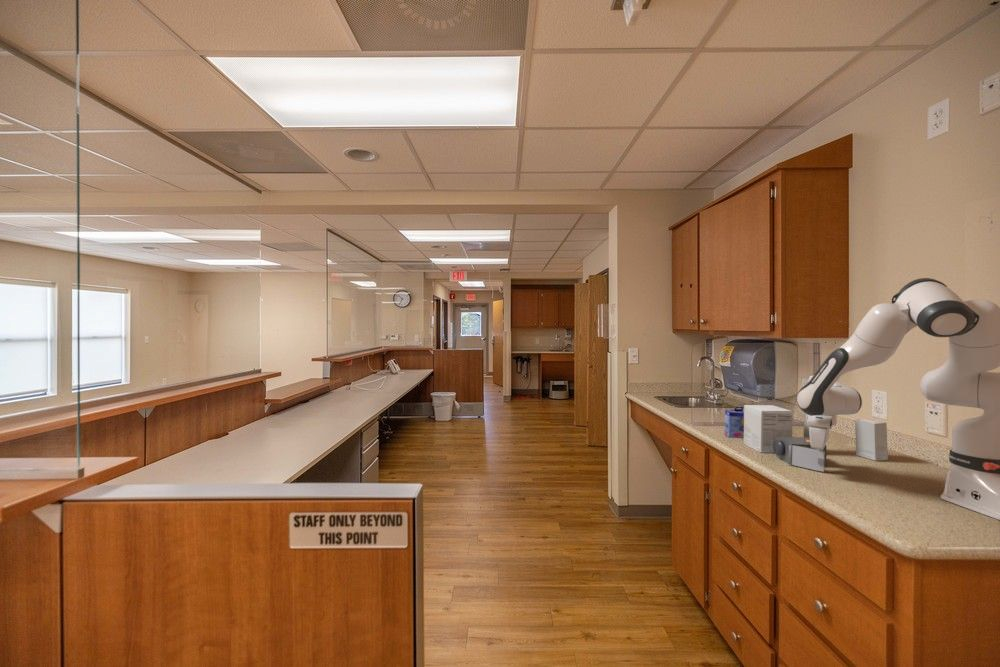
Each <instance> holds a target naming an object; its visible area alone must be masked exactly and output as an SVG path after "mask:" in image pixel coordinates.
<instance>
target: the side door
mask: <svg viewBox="0 0 1000 667" xmlns="http://www.w3.org/2000/svg"><path fill="white" fill-rule="evenodd" d="M824 457H825V451H820V450H815V449H810V448H804V447H799V446H794V445H793V446H792V445H789V463H788V465H790V466H795V467H800V468H804V469H808V470H809V469H810V470H813V471H818V472H822V473H825V467H824Z"/></svg>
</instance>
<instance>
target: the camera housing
mask: <svg viewBox="0 0 1000 667" xmlns="http://www.w3.org/2000/svg"><path fill="white" fill-rule="evenodd" d="M789 445H792V446H793V445H794V446H799V447H804V448H810V449H814V448H811V444H810V438H809V437H804V436H803V437H802V436H792V437H781V436H776V441H774V444H773V448H774V452H775V453H774V454H775V457H776V456H777V457H776V458H778V459H779V460H782V461H784V462H785V463H786V464H789ZM815 450H816V449H815ZM823 451H825V457H824V468H825V467H827V444H826V445H825V447H824V450H823Z"/></svg>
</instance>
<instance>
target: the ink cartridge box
mask: <svg viewBox="0 0 1000 667" xmlns="http://www.w3.org/2000/svg"><path fill="white" fill-rule="evenodd" d="M724 435H725V436H726V435H727V438H734V437H739V439H744V406H735V408H734V409H725V410H724Z"/></svg>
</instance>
